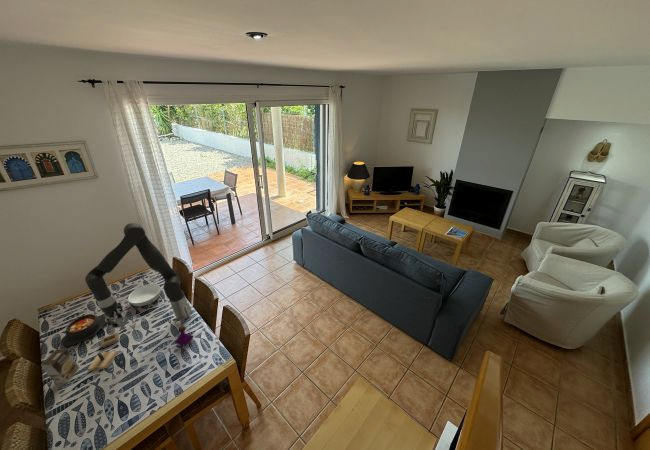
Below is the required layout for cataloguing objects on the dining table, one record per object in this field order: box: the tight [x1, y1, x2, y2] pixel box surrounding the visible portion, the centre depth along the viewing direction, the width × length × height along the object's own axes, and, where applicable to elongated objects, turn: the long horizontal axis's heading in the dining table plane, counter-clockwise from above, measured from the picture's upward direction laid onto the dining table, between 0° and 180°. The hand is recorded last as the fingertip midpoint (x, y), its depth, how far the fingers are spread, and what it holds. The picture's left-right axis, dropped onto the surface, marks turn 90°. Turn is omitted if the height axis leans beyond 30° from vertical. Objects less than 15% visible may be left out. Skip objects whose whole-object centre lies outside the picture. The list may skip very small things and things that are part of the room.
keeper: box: [87, 350, 118, 371], centre depth 151 cm, size 10×10×6 cm
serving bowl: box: [127, 283, 162, 307], centre depth 195 cm, size 21×21×7 cm
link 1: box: [106, 316, 129, 330], centre depth 155 cm, size 8×5×3 cm
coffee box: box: [40, 348, 80, 385], centre depth 141 cm, size 9×6×16 cm
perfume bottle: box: [174, 320, 194, 347], centre depth 159 cm, size 8×8×18 cm
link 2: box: [100, 332, 120, 348], centre depth 163 cm, size 8×5×3 cm
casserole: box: [60, 313, 107, 347], centre depth 168 cm, size 25×19×8 cm
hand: (118, 322), depth 156 cm, fingers closed on link 1, 5 cm apart
